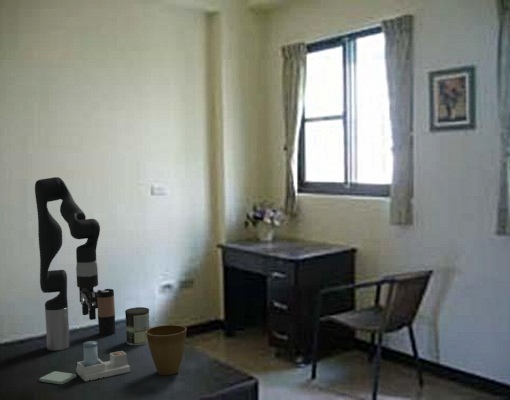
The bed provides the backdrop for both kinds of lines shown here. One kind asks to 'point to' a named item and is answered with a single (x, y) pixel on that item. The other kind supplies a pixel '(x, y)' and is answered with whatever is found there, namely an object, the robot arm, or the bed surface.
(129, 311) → the coffee can
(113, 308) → the travel mug
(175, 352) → the plant pot
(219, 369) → the bed surface
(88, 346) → the blue-grey elongated rounded piece
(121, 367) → the housing
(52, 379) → the mat
